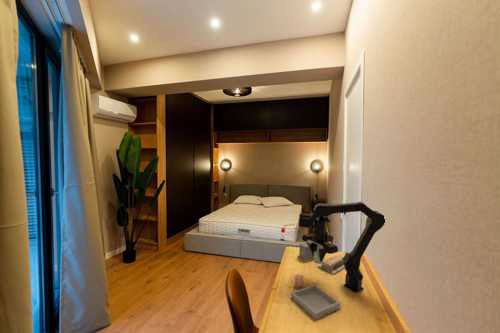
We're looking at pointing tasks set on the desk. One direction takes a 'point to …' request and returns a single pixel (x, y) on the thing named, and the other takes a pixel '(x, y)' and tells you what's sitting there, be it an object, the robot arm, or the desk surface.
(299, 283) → the terracotta part
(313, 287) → the tray
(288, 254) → the desk surface
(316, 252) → the sage part
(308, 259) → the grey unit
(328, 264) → the packaged product
